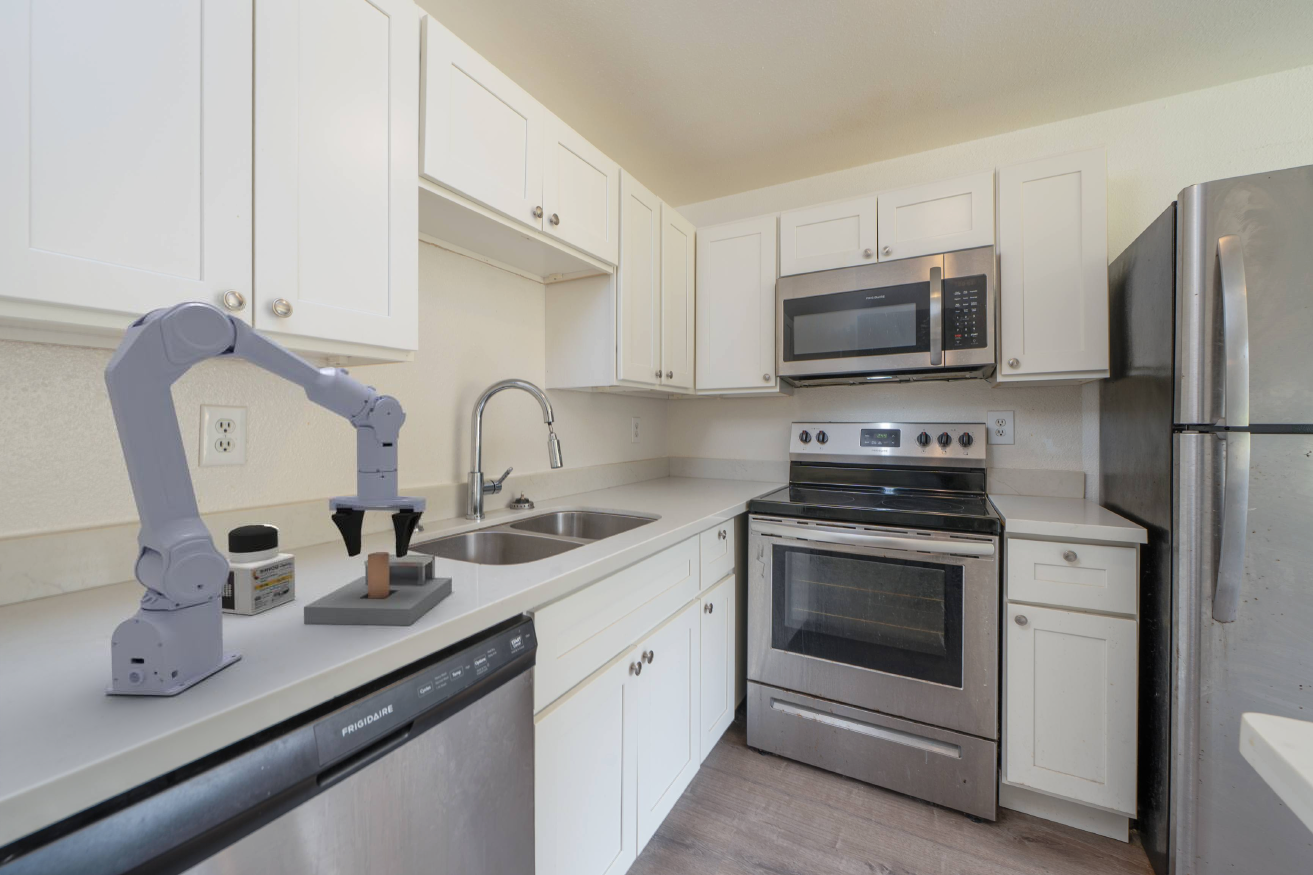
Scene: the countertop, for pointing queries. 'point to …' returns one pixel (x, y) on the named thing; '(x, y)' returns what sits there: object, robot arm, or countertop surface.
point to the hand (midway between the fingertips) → (378, 555)
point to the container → (257, 571)
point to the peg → (378, 575)
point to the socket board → (378, 603)
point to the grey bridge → (409, 567)
